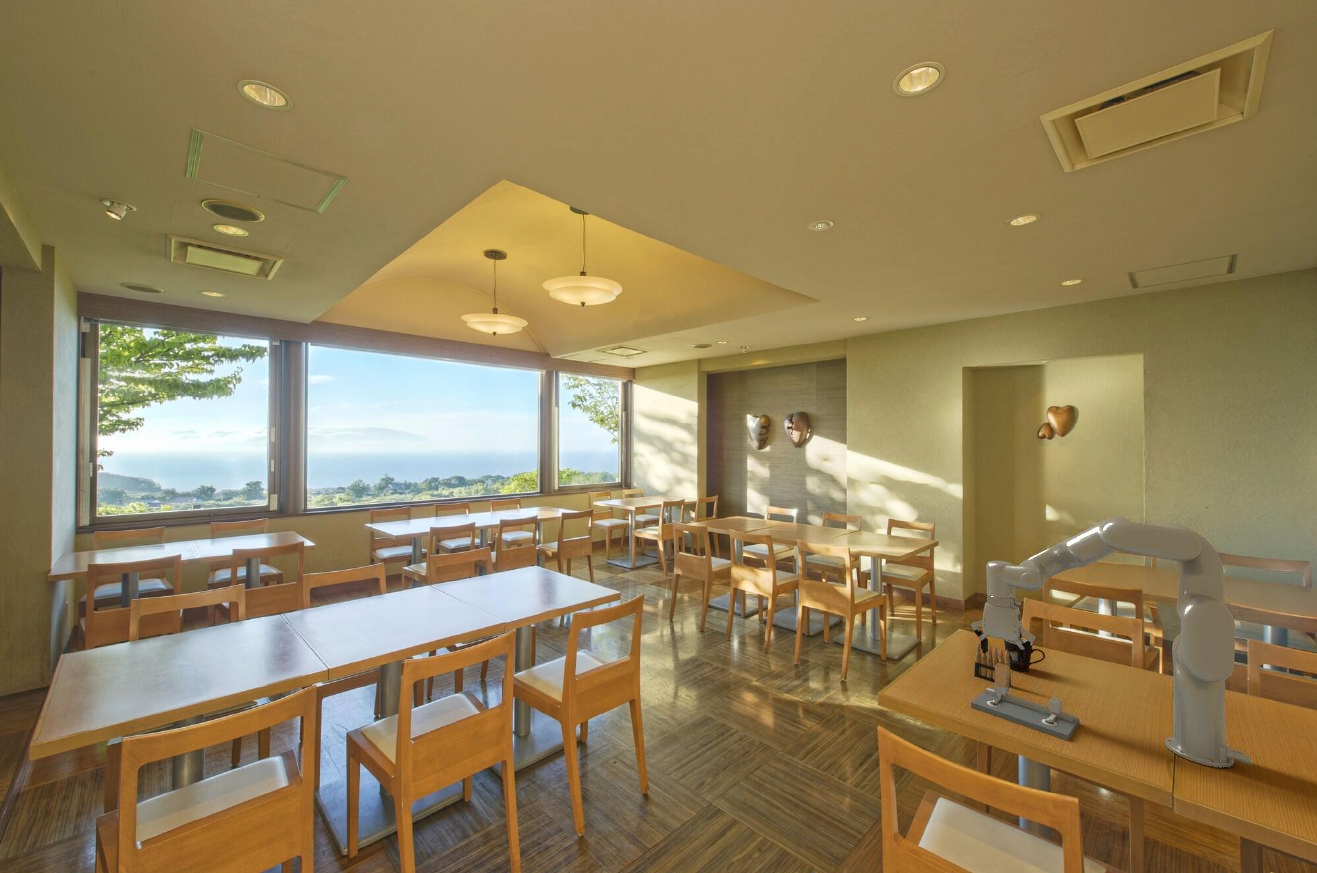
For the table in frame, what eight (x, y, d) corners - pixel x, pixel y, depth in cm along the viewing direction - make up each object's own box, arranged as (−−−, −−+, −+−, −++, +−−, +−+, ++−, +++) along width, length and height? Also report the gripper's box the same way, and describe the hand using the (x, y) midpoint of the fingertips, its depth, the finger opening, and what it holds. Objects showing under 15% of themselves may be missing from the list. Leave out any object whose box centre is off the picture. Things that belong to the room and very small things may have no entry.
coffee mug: (998, 665, 195) (998, 637, 195) (1015, 662, 198) (1015, 635, 198) (1028, 678, 184) (1028, 649, 184) (1046, 675, 187) (1047, 647, 187)
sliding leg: (1009, 697, 166) (1009, 665, 167) (999, 706, 161) (999, 673, 161) (998, 693, 169) (998, 662, 169) (988, 702, 163) (988, 670, 163)
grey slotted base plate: (1079, 723, 155) (1079, 702, 155) (1067, 740, 145) (1067, 718, 145) (986, 693, 173) (986, 674, 173) (970, 707, 163) (971, 687, 163)
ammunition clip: (1011, 685, 179) (1011, 649, 179) (1009, 687, 177) (1009, 651, 177) (976, 674, 187) (976, 640, 187) (974, 676, 186) (974, 641, 186)
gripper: (1037, 604, 163) (1039, 661, 162) (975, 593, 176) (976, 646, 175) (1030, 609, 158) (1032, 668, 158) (966, 598, 171) (967, 651, 171)
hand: (1002, 656), depth 167 cm, fingers open, 9 cm apart
